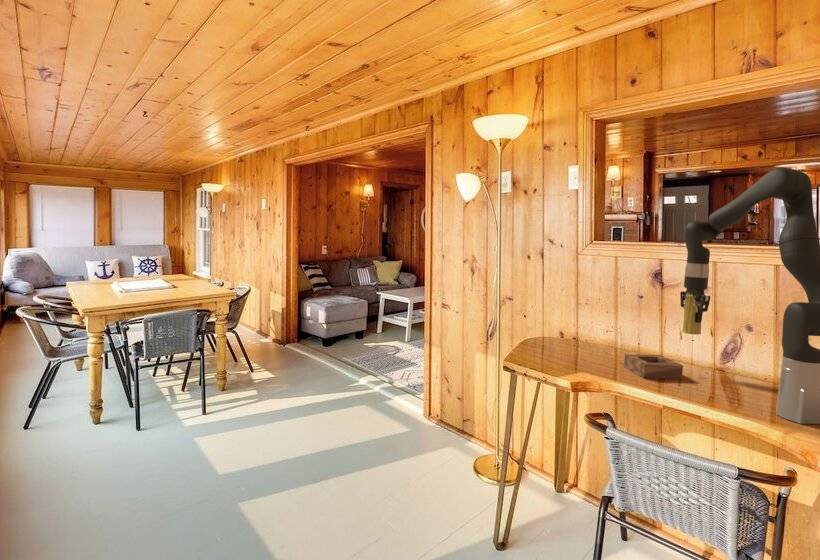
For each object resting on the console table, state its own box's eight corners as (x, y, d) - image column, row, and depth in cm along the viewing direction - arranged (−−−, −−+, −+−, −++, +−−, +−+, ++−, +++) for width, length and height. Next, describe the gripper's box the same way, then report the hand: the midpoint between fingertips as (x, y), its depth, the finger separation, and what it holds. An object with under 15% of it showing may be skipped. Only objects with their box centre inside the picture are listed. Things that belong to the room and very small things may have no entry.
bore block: (681, 379, 168) (683, 365, 167) (643, 378, 167) (644, 364, 167) (659, 367, 182) (660, 354, 181) (623, 366, 181) (624, 354, 180)
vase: (703, 335, 172) (707, 296, 170) (685, 333, 173) (689, 295, 172) (697, 331, 178) (700, 294, 176) (679, 330, 179) (682, 293, 177)
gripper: (720, 277, 166) (715, 325, 168) (693, 274, 181) (689, 317, 182) (699, 277, 166) (695, 324, 168) (674, 273, 180) (671, 317, 182)
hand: (692, 320), depth 175 cm, fingers closed on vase, 5 cm apart
